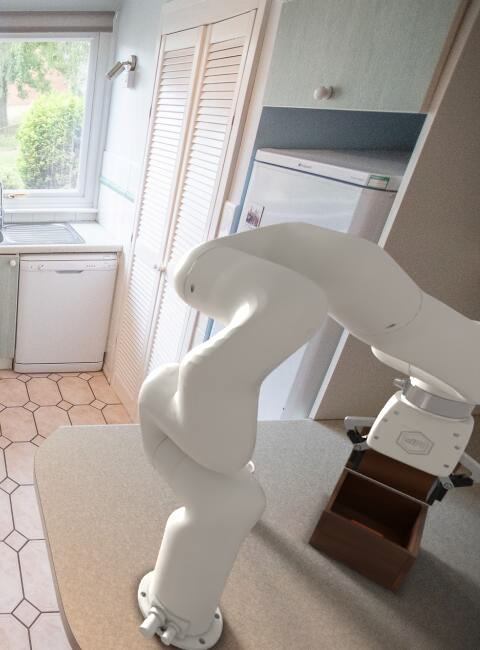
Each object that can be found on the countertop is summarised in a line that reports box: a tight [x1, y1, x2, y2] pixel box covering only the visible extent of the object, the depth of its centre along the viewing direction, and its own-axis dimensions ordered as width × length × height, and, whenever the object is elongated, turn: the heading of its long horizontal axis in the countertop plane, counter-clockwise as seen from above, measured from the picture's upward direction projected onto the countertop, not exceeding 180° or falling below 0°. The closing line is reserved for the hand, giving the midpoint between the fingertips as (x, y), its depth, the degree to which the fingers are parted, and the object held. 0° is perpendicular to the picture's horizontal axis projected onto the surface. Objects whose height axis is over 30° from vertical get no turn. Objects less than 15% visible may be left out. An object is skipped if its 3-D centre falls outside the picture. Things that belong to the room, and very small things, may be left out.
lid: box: [344, 426, 463, 505], centre depth 82 cm, size 16×13×5 cm
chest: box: [307, 467, 430, 593], centre depth 84 cm, size 16×13×9 cm
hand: (390, 482), depth 75 cm, fingers open, 9 cm apart
